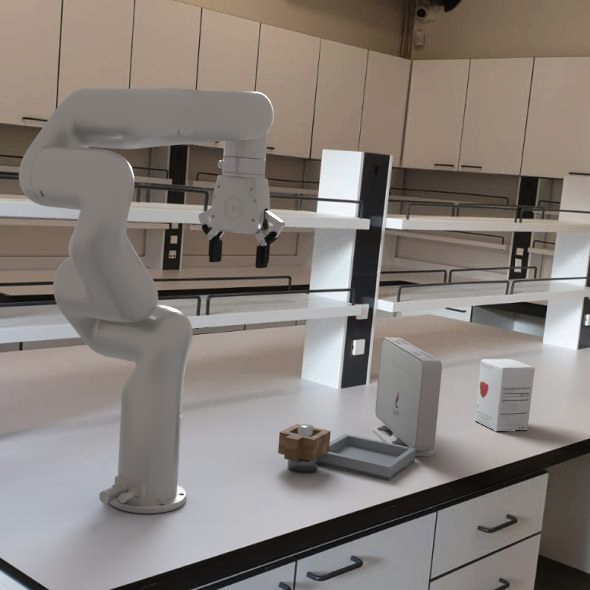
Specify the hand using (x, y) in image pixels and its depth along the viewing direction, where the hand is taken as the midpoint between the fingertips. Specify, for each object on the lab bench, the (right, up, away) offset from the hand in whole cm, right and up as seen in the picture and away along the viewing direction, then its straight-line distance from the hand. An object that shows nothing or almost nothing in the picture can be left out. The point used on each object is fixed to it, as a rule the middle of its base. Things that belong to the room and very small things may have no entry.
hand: (237, 264), depth 156 cm
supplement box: (+58, -36, +44) cm, 81 cm away
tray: (+24, -38, +11) cm, 46 cm away
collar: (+12, -34, +4) cm, 37 cm away
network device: (+33, -36, +26) cm, 56 cm away
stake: (+12, -37, +4) cm, 39 cm away
